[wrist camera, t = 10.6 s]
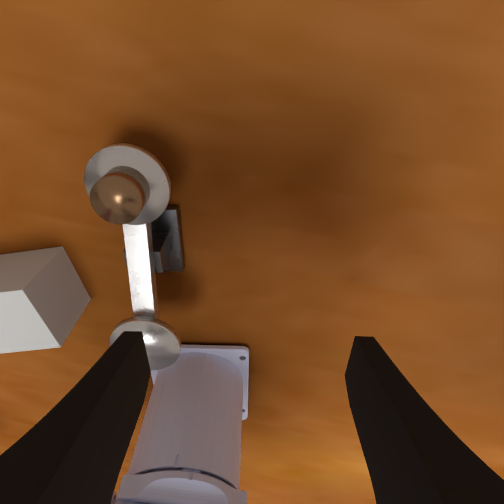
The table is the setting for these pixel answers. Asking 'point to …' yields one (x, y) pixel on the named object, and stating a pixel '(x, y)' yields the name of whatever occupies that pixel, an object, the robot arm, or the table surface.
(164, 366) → the balance
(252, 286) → the table surface
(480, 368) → the table surface
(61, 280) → the grey block
